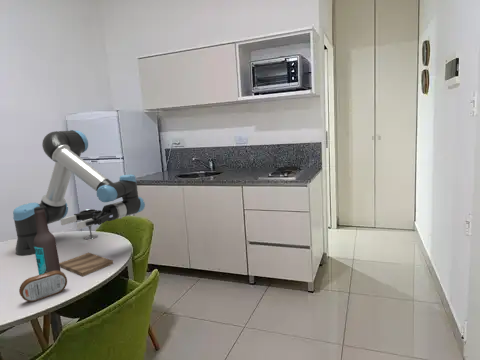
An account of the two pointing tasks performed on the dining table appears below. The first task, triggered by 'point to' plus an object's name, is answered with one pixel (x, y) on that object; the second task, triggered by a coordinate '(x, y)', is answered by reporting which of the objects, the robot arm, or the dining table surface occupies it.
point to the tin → (43, 286)
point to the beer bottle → (45, 245)
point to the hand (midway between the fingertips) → (69, 224)
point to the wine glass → (89, 226)
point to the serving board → (86, 264)
